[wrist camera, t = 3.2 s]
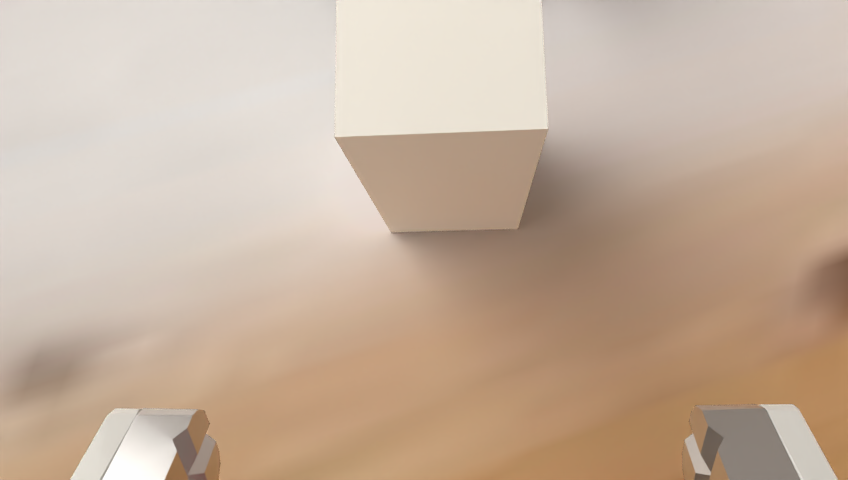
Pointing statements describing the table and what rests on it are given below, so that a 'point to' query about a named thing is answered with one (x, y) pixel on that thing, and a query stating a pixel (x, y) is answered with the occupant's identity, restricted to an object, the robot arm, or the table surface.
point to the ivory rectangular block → (442, 108)
